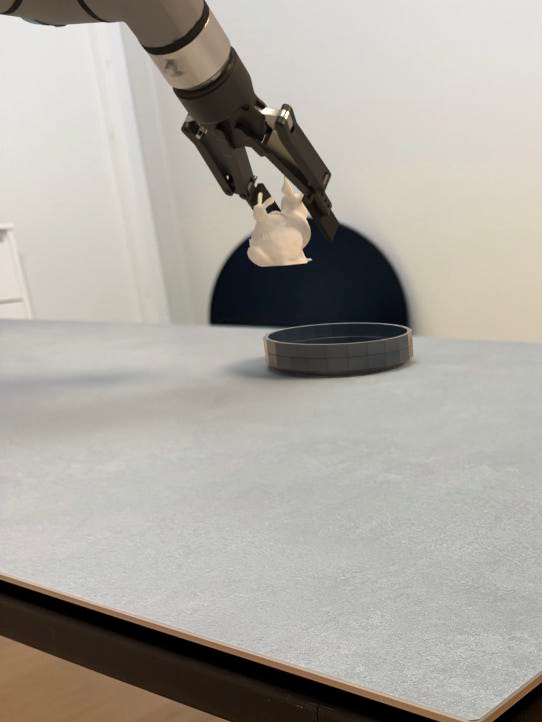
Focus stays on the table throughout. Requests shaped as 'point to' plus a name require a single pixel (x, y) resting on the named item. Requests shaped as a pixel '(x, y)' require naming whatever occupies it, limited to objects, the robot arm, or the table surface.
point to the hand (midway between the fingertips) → (308, 232)
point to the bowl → (338, 348)
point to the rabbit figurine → (280, 231)
